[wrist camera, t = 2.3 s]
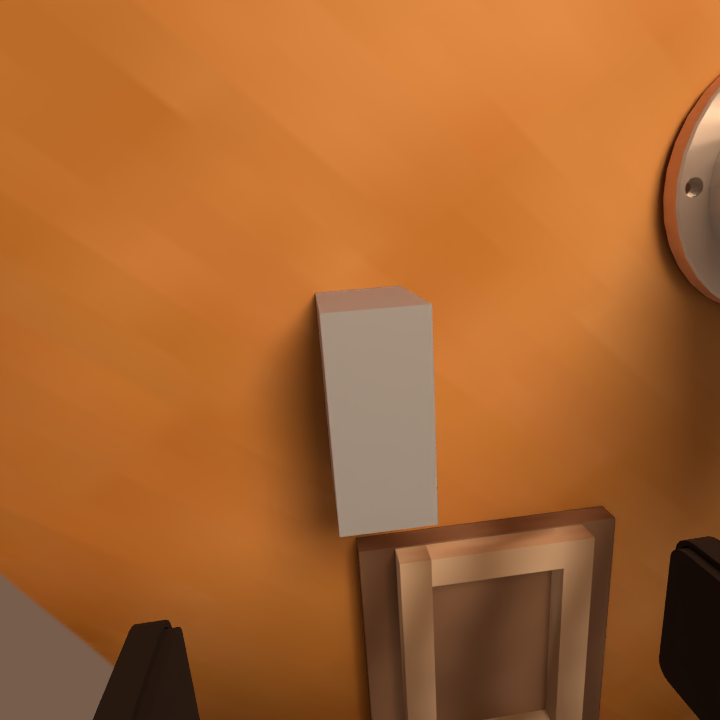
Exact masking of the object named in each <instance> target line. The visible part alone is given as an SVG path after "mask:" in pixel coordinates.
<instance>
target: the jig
mask: <svg viewBox="0 0 720 720" xmlns="http://www.w3.org/2000/svg"><path fill="white" fill-rule="evenodd" d="M614 530H615V517H614V516H612V515H611V514H610V513H609V512H608V511H607V510H606V509H605V508H604V507H603V506H599V507H592V508H584V509H576V510H568V511H561V512H553V513H545V514H537V515H530V516H522V517H514V518H506V519H499V520H491V521H483V522H475V523H468V524H460V525H452V526H445V527H437V528H429V529H421V530H414V531H406V532H398V533H390V534H383V535H375V536H367V537H359V538H356V539H357V551H358V564H359V577H360V589H361V602H362V614H363V627H364V639H365V652H366V664H367V677H368V689H369V702H370V714H371V720H599V710H600V698H601V686H602V674H603V662H604V650H605V638H606V626H607V614H608V602H609V590H610V578H611V566H612V554H613V542H614Z"/></svg>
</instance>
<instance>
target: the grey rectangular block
mask: <svg viewBox="0 0 720 720" xmlns="http://www.w3.org/2000/svg"><path fill="white" fill-rule="evenodd" d="M315 295H316V306H317V317H318V328H319V339H320V350H321V361H322V372H323V383H324V394H325V405H326V416H327V427H328V437H329V448H330V459H331V470H332V478H333V486H334V494H335V502H336V511H337V519H338V527H339V535H340V537H346V536H353V535H361V534H369V533H377V532H384V531H392V530H400V529H408V528H415V527H423V526H431V525H438V504H437V468H436V432H435V396H434V360H433V324H432V304H431V303H429V302H428V301H426V300H424V299H422V298H421V297H419V296H417V295H415V294H414V293H412V292H410V291H408V290H407V289H405V288H403V287H401V286H389V287H377V288H365V289H353V290H340V291H328V292H316V293H315Z"/></svg>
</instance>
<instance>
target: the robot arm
mask: <svg viewBox="0 0 720 720" xmlns="http://www.w3.org/2000/svg"><path fill="white" fill-rule="evenodd" d="M663 205H664V224H665V229H666V233H667V238H668V242H669V247H670V249H671V251H672V253H673V256H674V258H675V260H676V262H677V265H678V267H679V268H680V270H681V271H682V272H683V274H684V275H685V276H686V278H687V279H688V280H689V282H690V283H691V284H692V285H693V286H694V287H695V288H696V289H698V290H699V291H700V292H701V293H702V294H704V295H705V296H706V297H707V298H709V299H711V300H713V301H715V302H717V303H719V304H720V76H719V77H718V78H717V79H716V80H715V81H714V82H713V83H712V84H711V85H710V86H709V87H708V88H707V90H706V91H705V92H704V93H703V95H702V96H701V98H700V99H699V100H698V102H697V103H696V105H695V106H694V108H693V109H692V111H691V112H690V114H689V115H688V117H687V119H686V121H685V123H684V125H683V127H682V129H681V131H680V133H679V136H678V138H677V140H676V142H675V145H674V148H673V151H672V155H671V158H670V161H669V164H668V168H667V173H666V180H665V188H664V195H663ZM659 663H660V667H661V670H662V672H663V674H664V676H665V678H666V679H667V681H668V682H669V683H670V685H671V686H672V687H673V688H674V689H675V691H676V692H677V693H678V694H679V695H680V696H681V698H682V699H683V700H684V701H685V702H686V704H687V705H688V706H689V707H690V708H691V710H692V711H693V712H694V713H695V714H696V716H697V717H698V718H699V719H700V720H720V540H718V539H716V538H714V537H709V536H708V537H701V538H695V539H688V540H683V541H680V542H679V543H678V544H677V546H676V550H674V551H673V552H672V553H671V557H670V566H669V575H668V584H667V593H666V601H665V610H664V619H663V628H662V637H661V646H660V654H659ZM93 720H200V718H199V713H198V708H197V703H196V698H195V693H194V688H193V683H192V678H191V673H190V668H189V663H188V658H187V653H186V648H185V643H184V638H183V633H182V629H181V628H180V627H176V628H172V627H171V624H170V622H169V620H161V621H155V622H148V623H142V624H135V625H133V626H132V627H131V629H130V631H129V633H128V636H127V638H126V640H125V643H124V645H123V648H122V650H121V653H120V655H119V657H118V660H117V662H116V665H115V667H114V669H113V672H112V674H111V677H110V679H109V682H108V684H107V687H106V689H105V692H104V694H103V696H102V699H101V701H100V704H99V706H98V708H97V711H96V713H95V716H94V718H93Z"/></svg>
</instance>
